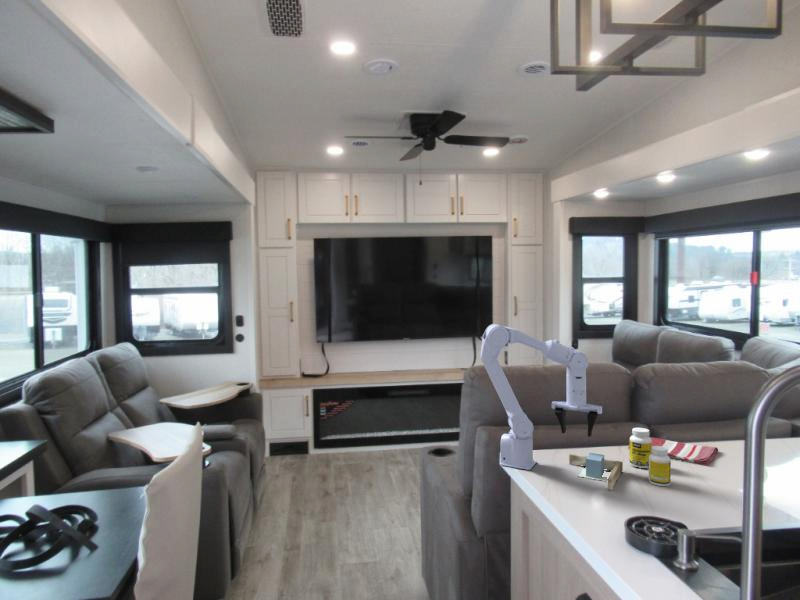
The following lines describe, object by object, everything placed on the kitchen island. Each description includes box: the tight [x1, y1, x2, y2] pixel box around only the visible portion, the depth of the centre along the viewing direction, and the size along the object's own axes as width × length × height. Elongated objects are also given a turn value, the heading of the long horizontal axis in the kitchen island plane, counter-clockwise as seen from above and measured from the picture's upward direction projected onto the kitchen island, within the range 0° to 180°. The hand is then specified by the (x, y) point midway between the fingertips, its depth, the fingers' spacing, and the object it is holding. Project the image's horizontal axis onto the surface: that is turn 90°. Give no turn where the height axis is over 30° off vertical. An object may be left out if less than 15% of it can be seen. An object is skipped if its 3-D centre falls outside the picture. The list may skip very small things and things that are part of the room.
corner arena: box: [568, 453, 624, 492], centre depth 146 cm, size 15×16×3 cm
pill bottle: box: [629, 427, 652, 469], centre depth 154 cm, size 6×6×11 cm
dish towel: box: [627, 436, 719, 467], centre depth 166 cm, size 17×23×3 cm
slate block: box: [585, 452, 605, 479], centre depth 148 cm, size 6×4×5 cm, turn 149°
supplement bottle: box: [648, 446, 672, 487], centre depth 141 cm, size 5×5×10 cm
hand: (576, 434), depth 156 cm, fingers open, 7 cm apart
